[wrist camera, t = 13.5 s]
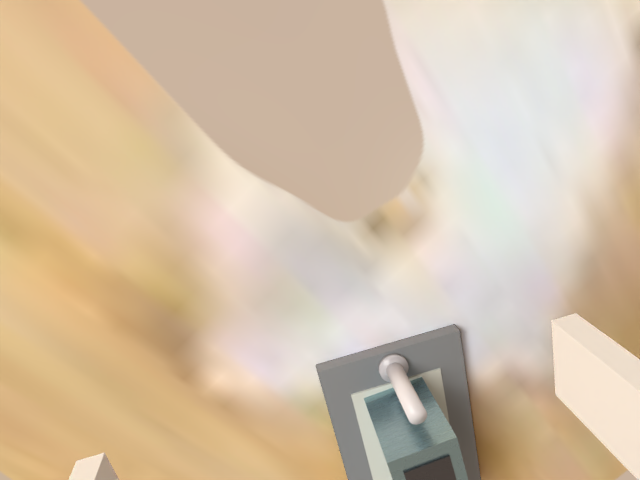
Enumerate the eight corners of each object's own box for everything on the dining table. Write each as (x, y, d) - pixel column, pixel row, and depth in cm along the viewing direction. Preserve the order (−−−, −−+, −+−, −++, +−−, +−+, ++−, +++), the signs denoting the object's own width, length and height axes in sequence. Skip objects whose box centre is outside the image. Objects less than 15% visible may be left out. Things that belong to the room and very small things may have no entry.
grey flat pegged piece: (454, 324, 45) (496, 375, 38) (476, 473, 52) (515, 541, 45) (315, 364, 44) (330, 425, 37) (357, 510, 52) (376, 586, 44)
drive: (421, 376, 45) (457, 438, 37) (446, 464, 49) (483, 535, 42) (363, 398, 45) (387, 464, 37) (393, 484, 49) (421, 559, 42)
